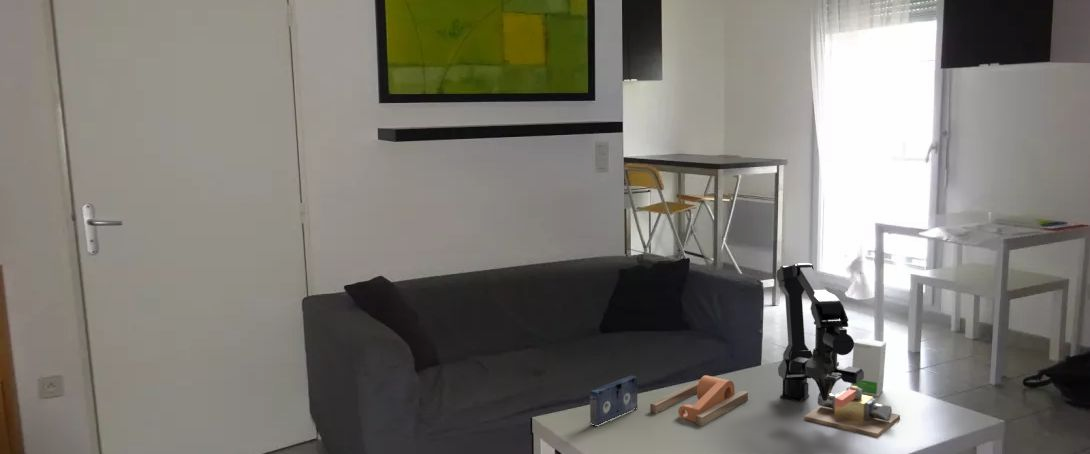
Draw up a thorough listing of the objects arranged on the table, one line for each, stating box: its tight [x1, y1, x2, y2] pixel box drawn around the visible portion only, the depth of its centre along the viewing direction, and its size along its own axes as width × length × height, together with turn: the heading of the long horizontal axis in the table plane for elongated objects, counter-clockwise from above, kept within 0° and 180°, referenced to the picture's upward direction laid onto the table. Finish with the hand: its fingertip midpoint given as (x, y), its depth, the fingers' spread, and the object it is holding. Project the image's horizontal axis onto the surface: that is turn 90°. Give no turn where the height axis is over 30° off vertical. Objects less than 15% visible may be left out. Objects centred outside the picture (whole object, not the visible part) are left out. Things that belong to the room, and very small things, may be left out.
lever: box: [835, 385, 863, 407], centre depth 223 cm, size 13×4×3 cm, turn 138°
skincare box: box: [850, 337, 887, 398], centre depth 248 cm, size 8×7×16 cm
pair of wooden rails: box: [649, 380, 749, 427], centre depth 239 cm, size 17×26×2 cm, turn 138°
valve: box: [817, 390, 893, 421], centre depth 227 cm, size 19×7×5 cm, turn 48°
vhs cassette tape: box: [589, 374, 638, 425], centre depth 231 cm, size 18×3×10 cm, turn 134°
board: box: [803, 405, 901, 438], centre depth 227 cm, size 20×17×1 cm
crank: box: [678, 375, 736, 423], centre depth 236 cm, size 20×8×8 cm, turn 139°
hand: (824, 400), depth 223 cm, fingers closed
